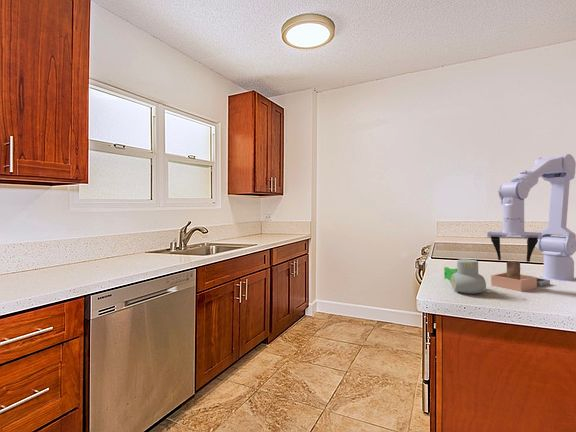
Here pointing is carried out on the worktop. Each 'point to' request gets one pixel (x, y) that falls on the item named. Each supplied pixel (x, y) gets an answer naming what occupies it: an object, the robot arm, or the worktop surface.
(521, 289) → the terracotta bin
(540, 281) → the metal socket
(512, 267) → the walnut strut
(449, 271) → the pipe clamp
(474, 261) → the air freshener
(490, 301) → the worktop surface
